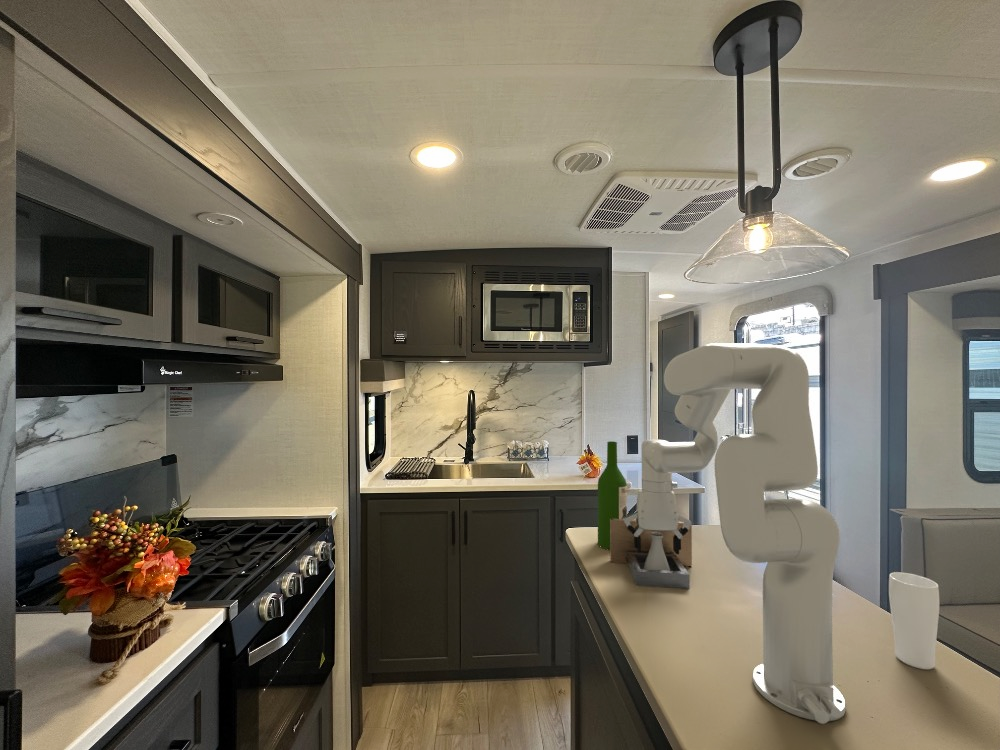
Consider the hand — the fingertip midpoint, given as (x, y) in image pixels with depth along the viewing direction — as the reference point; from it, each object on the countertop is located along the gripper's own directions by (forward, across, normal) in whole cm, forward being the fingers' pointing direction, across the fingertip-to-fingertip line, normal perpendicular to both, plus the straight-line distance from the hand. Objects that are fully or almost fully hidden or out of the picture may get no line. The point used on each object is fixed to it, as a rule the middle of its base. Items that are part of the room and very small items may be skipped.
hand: (657, 551), depth 116 cm
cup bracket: (+6, 0, -2) cm, 7 cm away
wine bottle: (+6, +9, -21) cm, 24 cm away
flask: (+6, 0, 0) cm, 6 cm away
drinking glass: (+7, -39, +31) cm, 50 cm away
